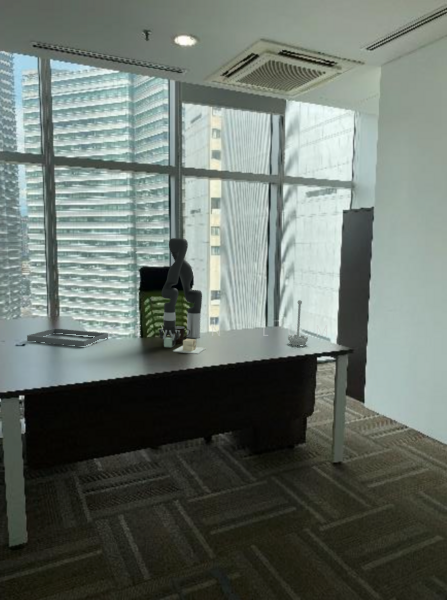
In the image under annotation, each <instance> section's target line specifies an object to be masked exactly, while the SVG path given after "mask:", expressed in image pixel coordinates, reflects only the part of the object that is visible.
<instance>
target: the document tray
mask: <svg viewBox="0 0 447 600" xmlns="http://www.w3.org/2000/svg"><path fill="white" fill-rule="evenodd" d="M53 333H63V334H76V335H88V336H95V337H94V338H87V339H85V340H79V339H71V338H59V337H52V336H47V337H43V336H46V335H49V334H53ZM26 338H27V339H26V341H36V342H45V343H55V344H64V345H75V346H86V345H88V344H91V343H93V342H95V341H97V340H99V339H105V338H107V339H108V340H109V333H107V332H96V331H95V332H94V331H88V330H87V331H86V330H77V329H68V328H66V329H65V328H56V327H54V328H51V329H46V330H44V331H43V330H42V331H39V332H36V333H31V334H27V335H26ZM36 342H35V343H36ZM45 343H44V344H45Z"/></svg>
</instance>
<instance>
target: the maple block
mask: <svg viewBox="0 0 447 600" xmlns="http://www.w3.org/2000/svg"><path fill="white" fill-rule="evenodd" d="M196 341H197V339H196V338H186V339H185V338H184V339H183V342H182V346H183V350H185V351H193V350H195V349H196V347H197V346H196V345H197V344H196V343H197V342H196Z"/></svg>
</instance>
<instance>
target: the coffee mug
mask: <svg viewBox="0 0 447 600" xmlns="http://www.w3.org/2000/svg"><path fill="white" fill-rule="evenodd" d="M175 328H176V330H180V333H179V337H178V339H177V340H175V344H183V340H185V338H187V336H188V335H189V334H190V330H189V329H187V328H186V329H185V326H180V325H177V326H176V325H175ZM187 330H189V334H188V335H187V334H186V335H185V332H187ZM174 334H175V337H176V331H175V332H174Z"/></svg>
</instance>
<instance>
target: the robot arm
mask: <svg viewBox="0 0 447 600" xmlns="http://www.w3.org/2000/svg"><path fill="white" fill-rule="evenodd" d="M188 243H189V242H188V240H187V239H186V238H183V237H182V238H179V237H175V238H174V237H172V238H170V239H169V241H168V247H169V248H168V249H169V250H170V254H171V256H172V258H173V260H174V261H173V263H172V265H171V266H170V267H169V269H168V272H167V277H166V281H165V283H164V285H163V288H162V289H161V296H162V298H163V299H167V300H169V302H165V303H164V305H163V307H164V310H163V328H159V329H158V333H159V336H160V337H159V338H160V339H162V340H163V342H162V343H163V345H164V339H165V338H167V337H168V336H170V338H172V346H173V347H174V346H175V345H176V343H175V340H177V339H178V337H179V333H180V330H176V328H175V326H176V325H177V324H176V322H177V321H176V316H177V315H176V304H177V301H178V298H179V290H178V289H177V288H175V287H172V286H176V285H178V283H179V278H180V282H181V286H182V289H183V294H184V298H185V301H186V302H187V303H190V304H193V306H192V307H188V308H187V311H186V313H187V315H186V317H187V318H186V319H187V321H186V329H189V330H190V334H189V330H186V335H188V334H189V335H188V336H186V338H188V339H198V338H201V317H202V316H201V315H202V314H201V312H202V303H203V293H202V291H201V290H198V289H192V288H191V282H192V280H193V277H194V272H193V268H192V266H191V264H190V263H189V262H188V261H187V260H186V258H185V257H186V254H187V251H188V246H189V244H188ZM175 331H176V337H175V334H174V332H175Z"/></svg>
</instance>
